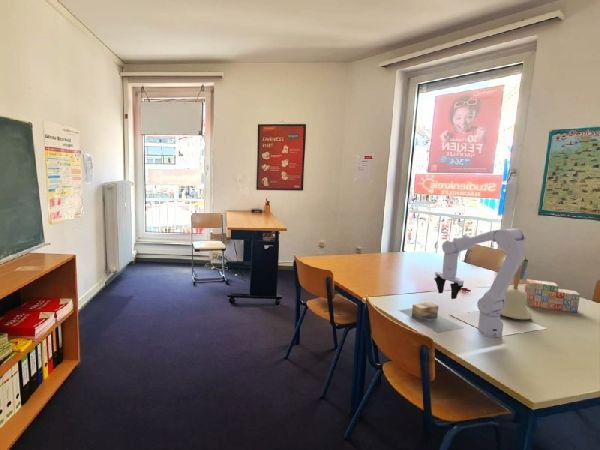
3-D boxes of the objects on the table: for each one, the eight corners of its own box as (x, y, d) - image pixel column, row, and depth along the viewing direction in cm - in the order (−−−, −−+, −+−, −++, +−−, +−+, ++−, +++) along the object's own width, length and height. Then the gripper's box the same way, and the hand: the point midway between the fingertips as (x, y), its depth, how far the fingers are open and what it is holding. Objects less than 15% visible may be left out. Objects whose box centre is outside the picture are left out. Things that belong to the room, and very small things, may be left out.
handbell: (521, 325, 150) (529, 269, 146) (486, 313, 162) (493, 261, 159) (537, 318, 158) (545, 265, 155) (503, 307, 171) (509, 258, 167)
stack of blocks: (573, 308, 172) (576, 285, 171) (577, 313, 167) (581, 288, 165) (523, 301, 180) (526, 278, 179) (525, 305, 175) (528, 282, 173)
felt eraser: (429, 312, 157) (430, 302, 156) (437, 316, 153) (438, 305, 152) (411, 315, 153) (412, 304, 153) (419, 319, 149) (420, 308, 148)
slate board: (463, 330, 142) (463, 327, 142) (437, 335, 137) (438, 332, 137) (422, 309, 164) (422, 306, 164) (398, 312, 159) (398, 310, 158)
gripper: (431, 263, 159) (428, 291, 161) (456, 271, 146) (452, 302, 148) (442, 262, 162) (439, 290, 164) (468, 270, 149) (465, 300, 151)
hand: (446, 295), depth 156 cm, fingers open, 7 cm apart
